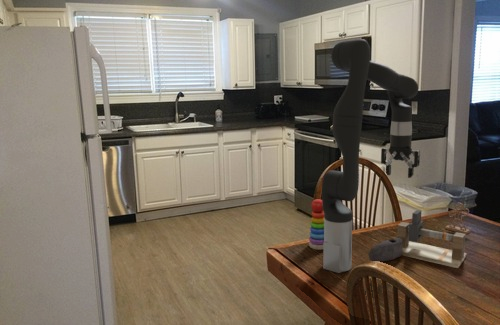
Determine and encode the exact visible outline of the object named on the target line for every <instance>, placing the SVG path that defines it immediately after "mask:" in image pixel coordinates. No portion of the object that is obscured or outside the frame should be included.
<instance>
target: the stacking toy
mask: <svg viewBox="0 0 500 325" xmlns="http://www.w3.org/2000/svg"><path fill="white" fill-rule="evenodd" d="M311 210H312V212H311V216H312V217H311V218H310V220H311V221H310V232H309V238H308V240H309V242H308V246H309V247H310V248H311V249H313V250H317V251H318V250H319V251H321V250H322V251H323V243H324V212H323V205H322V198H321V199H319V198H316V199H313V201H312V202H311Z"/></svg>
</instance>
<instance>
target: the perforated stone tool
mask: <svg viewBox="0 0 500 325" xmlns="http://www.w3.org/2000/svg"><path fill="white" fill-rule="evenodd" d="M402 244H403V240H402V239H400V238H397V237H395V238H390V239H386V240H383V241H382V242H379V243H377V244H375V245H374V246H373V247H372V248H371V249H369V252H368V259H369V261H371V262H373V261H381V262H380V263H382V262H387V261H393V260H395V259H397V258H401V256H402V255H401V254H402V251H403V250H402V249H403V248H402Z"/></svg>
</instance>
